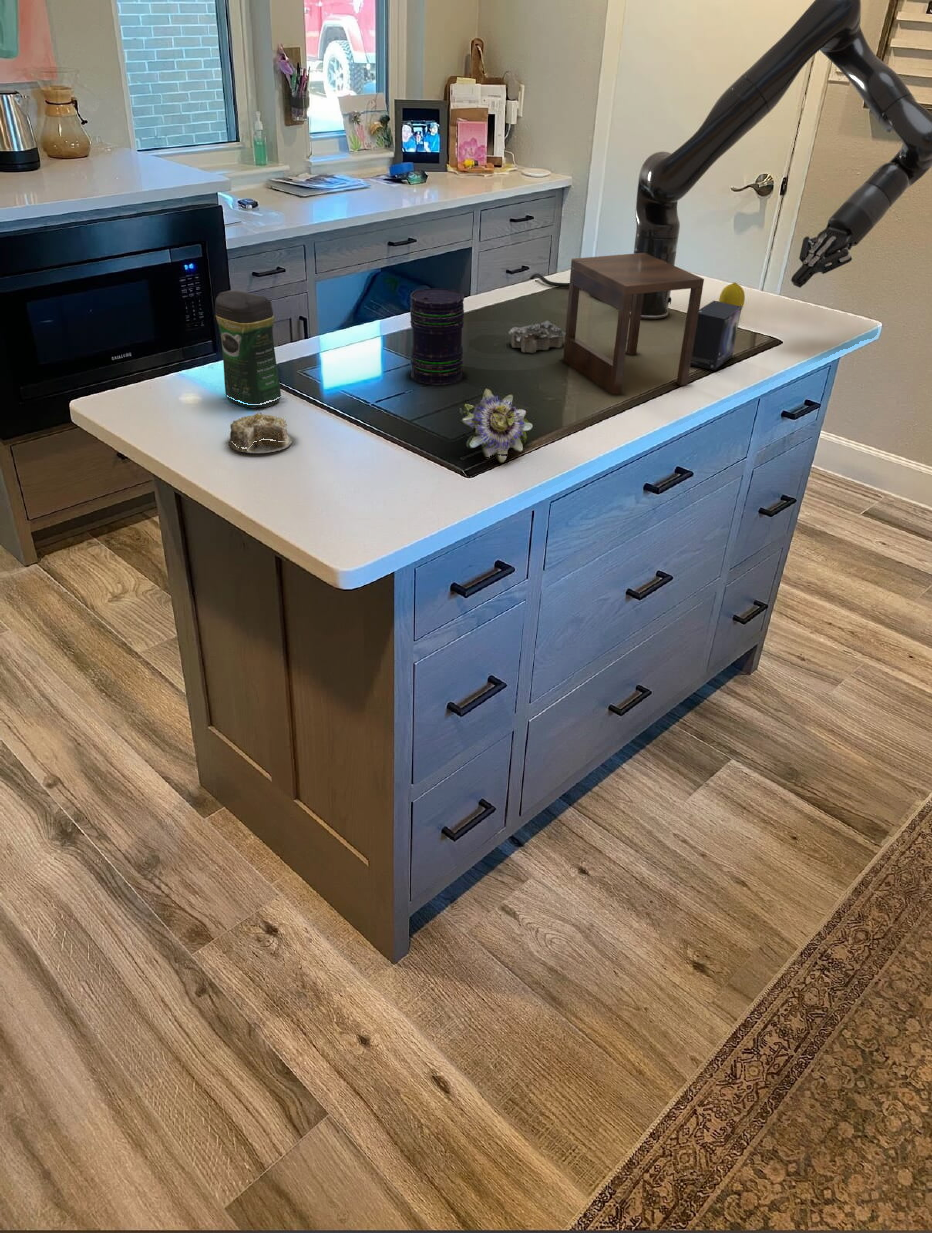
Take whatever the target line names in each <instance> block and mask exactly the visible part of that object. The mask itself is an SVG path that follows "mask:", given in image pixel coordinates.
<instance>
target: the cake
mask: <svg viewBox="0 0 932 1233" xmlns="http://www.w3.org/2000/svg"><path fill="white" fill-rule="evenodd" d="M286 421H287V420H285V419H284V418H282V417H279V416H277V415H272V414H262V412H257V413H256V414H253V415H246V416H242V417H241V418H238V419H237V420H233V421H232V423H231V424H230V425H229V426H230V432H229V437H230V438H229V441H228V446H229V447H230V448H231V449H233V451H236V452H241V453H244V454H245V453H247V454H267V453H274V452H278V451H281V450H285V449H287V448H288V447H290V445H292V443H293V440H292V438H291V437H290V436H289V435H288V430H287V426H288V424H287V422H286ZM286 437H287V438H286ZM263 438H264V439H273V440H276V441H270V440H261V439H263ZM259 440H261V441H259ZM285 440H286V441H285ZM231 441H233V443H234V444H236V446H237V447H236V446H235V445H234V444H233V443H232V442H231ZM254 441H257V442H254ZM278 441H285V442H278ZM253 442H254V443H253ZM252 444H253V445H252ZM251 445H252V446H251ZM250 446H251V447H250ZM238 447H239V448H238ZM241 447H244V448H245V447H247V449H248V448H249V447H250V448H249V449H248V450H247V449H242V448H241Z"/></svg>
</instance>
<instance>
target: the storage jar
mask: <svg viewBox="0 0 932 1233" xmlns="http://www.w3.org/2000/svg"><path fill="white" fill-rule="evenodd" d="M410 301H411V302H410V309H409V310H410V311H409V312H410V313H409V316H410V321H409V322H410V327H411V334H412V335H411V347H410V364H411V365H410V366H411V374H410V376H411V378H412V379H413V380H414V381H416V382H417V383H421V384H425V385H432V386H433V385H436V386H441V385H449V384H454V383H457V382H459V381H460V380H461V379H462V378H463V373H462V369H463V363H464V356H463V355H464V348H463V346H462V342H463V341H462V340H463V338H462V337H463V336H462V335H463V328H464V324H465V321H464V317H465V309H464V301H465V295H464V294H463V293H462V292H461V291H458V290H455V289H450V288H440V287H439V288H438V287H435V288H434V287H433V288H431V287H430V288H422V289H418V290H415V291H413V292H411V293H410Z"/></svg>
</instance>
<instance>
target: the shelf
mask: <svg viewBox="0 0 932 1233" xmlns="http://www.w3.org/2000/svg"><path fill="white" fill-rule="evenodd" d="M569 274H570V275H569V283H570V285H569V287H568V299H567V309H566V323H565V332H566V333H565V332H564V333H565V337H564V347H563V357H562V360H563V362H565V363H566V364H568V365H569V366H570V367H572V368H573V369H575V370H577V371H578V372H580V373H581V374H582V375H584V376H586V377H587V378H588V379H589V380H591V381H592V382H594V383H595V384H596V385H598V386H600V387H601V388H602V389H604V390H606V391H607V392H608V393H610V394H611V395H613V396H616V395H617V396H618V395H621V393H622V384H623V377H624V367H625V359H626V354H628V355H629V356H632V355H637V350H638V349H637V348H638V343H639V335H640V327H641V320H642V318H641V312H642V304H643V296H644V293H650V292H661V291H671V292H672V291H680V290H689V289H690V292H689V298H688V305H687V311H686V318H685V323H684V324H685V325H684V330H683V337H682V344H681V350H680V357H679V364H678V369H677V377H676V382H675V383H676V384H677V385H678V386H680V387H682V386H688V383H689V376H690V369H691V365H690V364H691V358H692V352H693V346H694V339H695V333H696V327H697V321H698V315H699V310H700V309H701V303H702V302H701V301H702V296H703V295H702V294H703V290H704V284H705V282H704V281H705V278H703V277H701V276H699V275H696V274H693V273H691V272H690V271H687V270H685V269H682V268H680V267H678V266H675V265H671V264H669V263H667V262H664V261H662V260H660V259H658V258H655V257H653V256H651V255H649V254H646V253H636V254H634V253H625V254H614V255H613V254H612V255H601V256H588V257H587V256H586V257H576V258H571V262H570V273H569ZM580 290H581V291H583V292H585V293H587V294H589V295H590V296H592V297H594V298H596V299H597V300H599V301H600V300H601V301H600V302H602V301H603V303H605V304H607V305H608V306H610V307H612V308H613V309H616V310H618V315H617V324H616V334H615V341H614V350H613V359H611V358H609V357H608V356H606V355H604V354H603V353H601V352H600V351H599V350H596V349H595V348H593V347H592V346H590V345H589V344H587V343H586V342H584V341H582V340H581V339H579V338H577V337H576V334H577V323H578V310H579V302H580V301H579V299H580ZM632 294H633V300H632ZM631 302H632V309H631ZM630 310H631V316H630Z"/></svg>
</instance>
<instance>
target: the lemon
mask: <svg viewBox="0 0 932 1233" xmlns="http://www.w3.org/2000/svg"><path fill="white" fill-rule="evenodd" d="M745 297H746V296H745V291H744V289H743V287H742V286H741V285H739V284H738V283H737V282H732V283H730V284H728V285H726V286H725V287H724V288H723V289H722V291H721V293H720V295H719V297H718V301H719V302H723V303H728V304H732V305H737V306H742V309H741V311H742V310H743V308H744V305H745V299H746V298H745Z"/></svg>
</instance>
